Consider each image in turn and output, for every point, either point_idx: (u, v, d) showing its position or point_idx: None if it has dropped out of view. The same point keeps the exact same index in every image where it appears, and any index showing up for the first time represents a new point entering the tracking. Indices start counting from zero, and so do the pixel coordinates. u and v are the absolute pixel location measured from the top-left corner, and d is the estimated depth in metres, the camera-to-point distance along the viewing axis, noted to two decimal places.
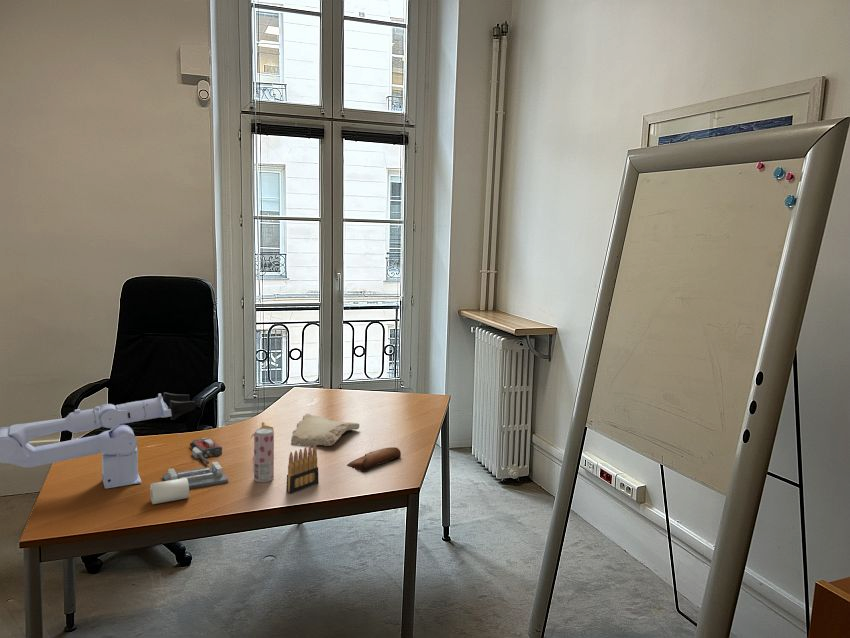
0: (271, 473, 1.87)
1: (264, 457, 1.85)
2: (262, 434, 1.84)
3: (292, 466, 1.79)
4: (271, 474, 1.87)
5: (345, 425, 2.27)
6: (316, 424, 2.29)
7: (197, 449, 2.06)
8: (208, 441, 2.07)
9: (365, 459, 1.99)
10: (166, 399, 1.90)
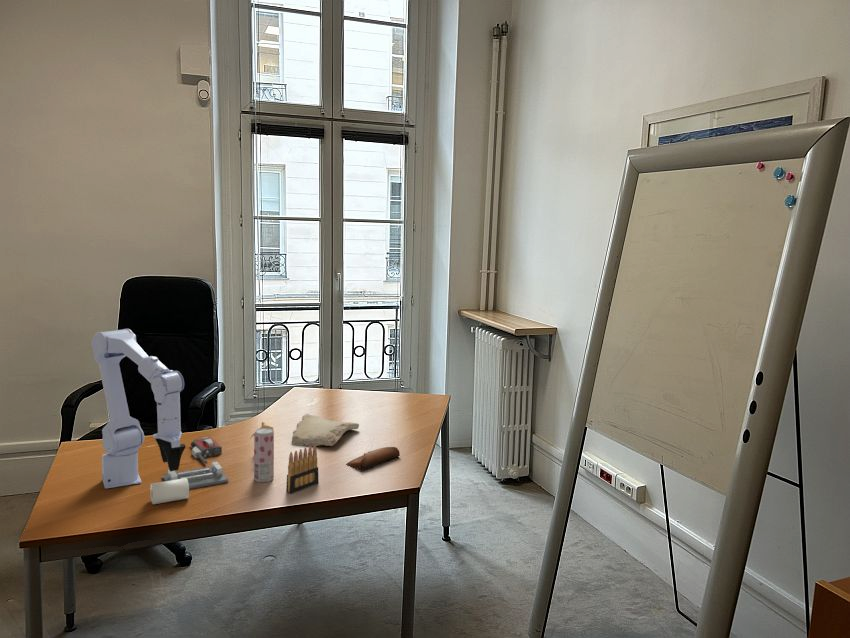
0: (271, 473, 1.87)
1: (264, 457, 1.85)
2: (262, 434, 1.84)
3: (292, 466, 1.79)
4: (271, 474, 1.87)
5: (345, 425, 2.27)
6: (316, 424, 2.29)
7: (197, 449, 2.06)
8: (208, 441, 2.08)
9: (364, 458, 1.99)
10: None
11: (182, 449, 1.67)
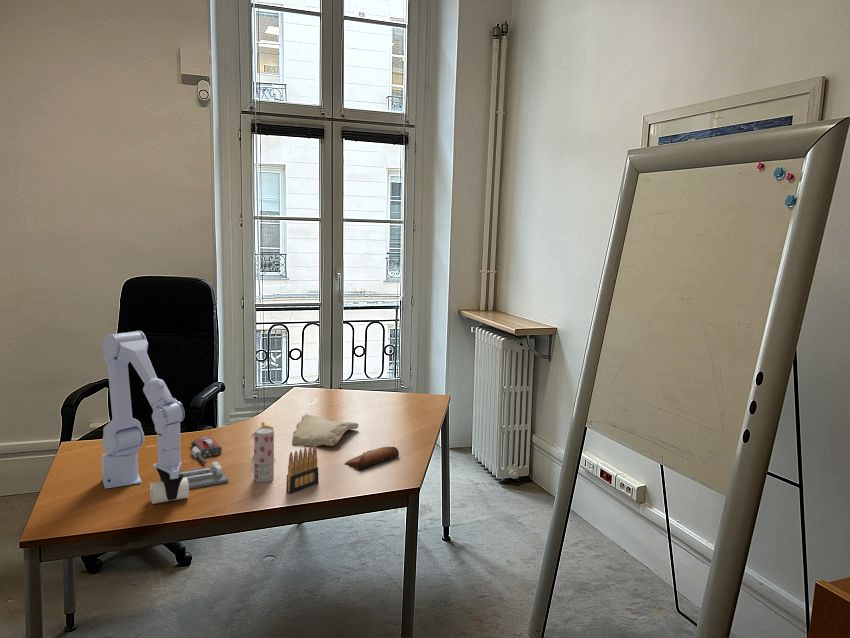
0: (271, 473, 1.87)
1: (264, 457, 1.85)
2: (262, 434, 1.84)
3: (292, 466, 1.79)
4: (271, 474, 1.87)
5: (345, 425, 2.28)
6: (316, 424, 2.29)
7: (197, 449, 2.06)
8: (208, 441, 2.08)
9: (362, 458, 2.00)
10: None
11: (180, 479, 1.68)
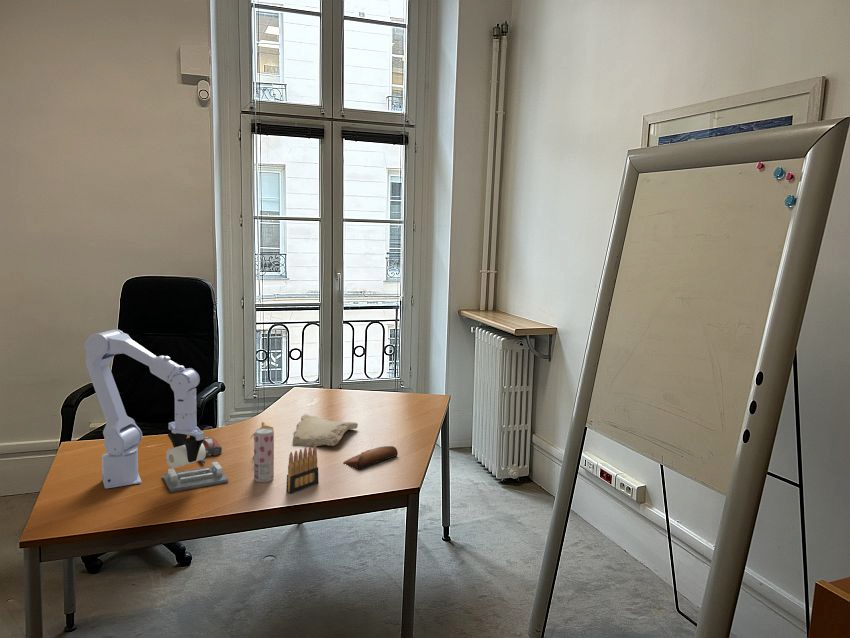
0: (271, 473, 1.87)
1: (264, 457, 1.85)
2: (262, 434, 1.84)
3: (292, 466, 1.79)
4: (271, 474, 1.87)
5: (345, 425, 2.28)
6: (316, 424, 2.29)
7: None
8: (208, 440, 2.08)
9: (361, 457, 2.00)
10: None
11: (202, 441, 1.77)
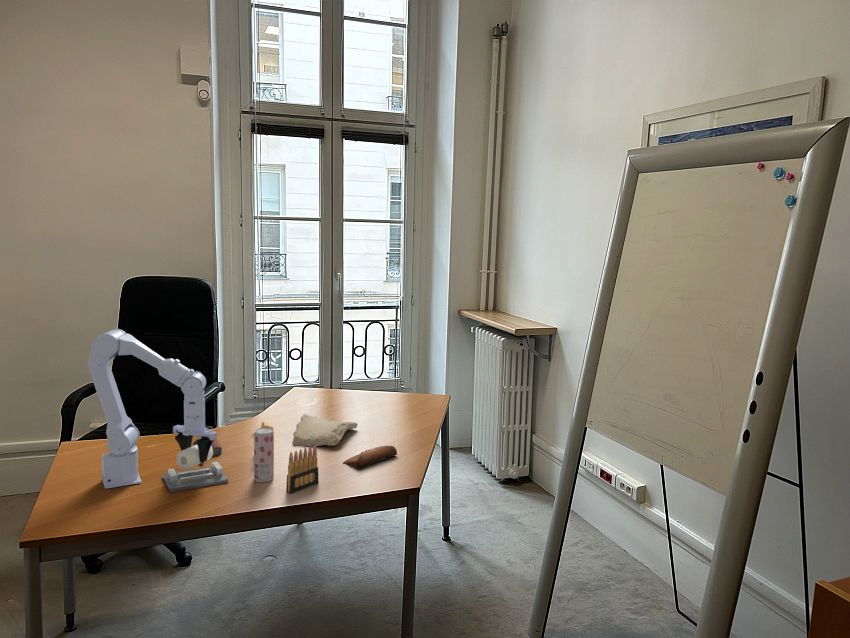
0: (271, 473, 1.87)
1: (264, 457, 1.85)
2: (262, 434, 1.84)
3: (292, 466, 1.79)
4: (271, 474, 1.87)
5: (345, 424, 2.28)
6: (316, 424, 2.29)
7: None
8: None
9: (360, 457, 2.00)
10: None
11: (213, 440, 1.84)
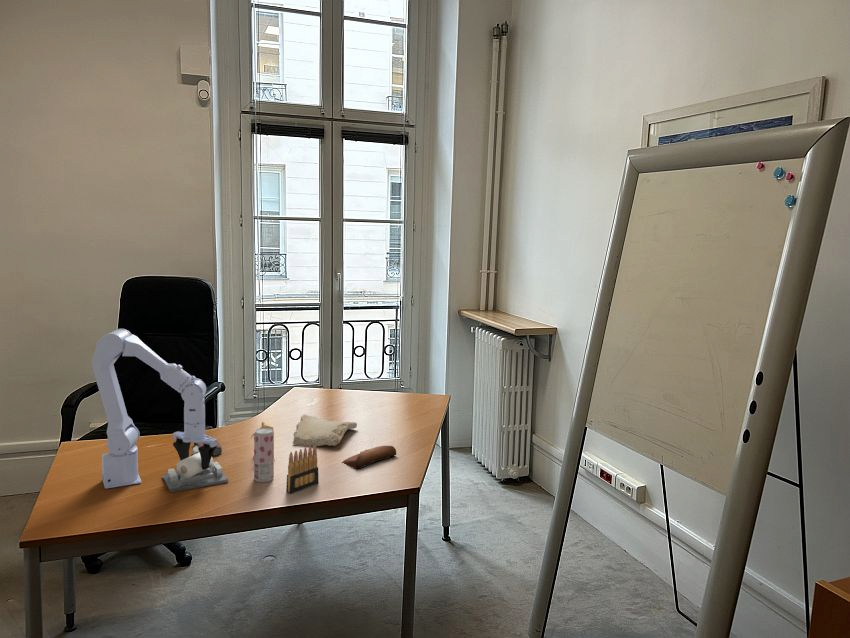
0: (271, 473, 1.87)
1: (264, 457, 1.85)
2: (262, 434, 1.84)
3: (292, 466, 1.79)
4: (271, 474, 1.87)
5: (345, 424, 2.28)
6: (316, 424, 2.29)
7: (197, 448, 2.07)
8: None
9: (359, 457, 2.01)
10: None
11: (215, 448, 1.84)
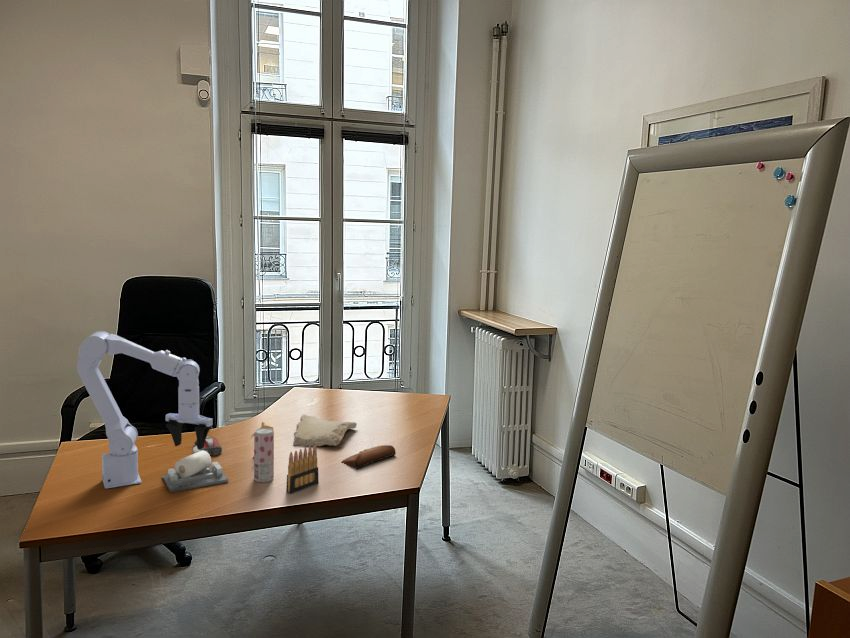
0: (271, 473, 1.87)
1: (264, 457, 1.85)
2: (262, 434, 1.84)
3: (292, 466, 1.79)
4: (271, 474, 1.87)
5: (345, 424, 2.28)
6: (315, 425, 2.29)
7: None
8: (208, 440, 2.08)
9: (358, 456, 2.01)
10: None
11: (210, 427, 1.86)
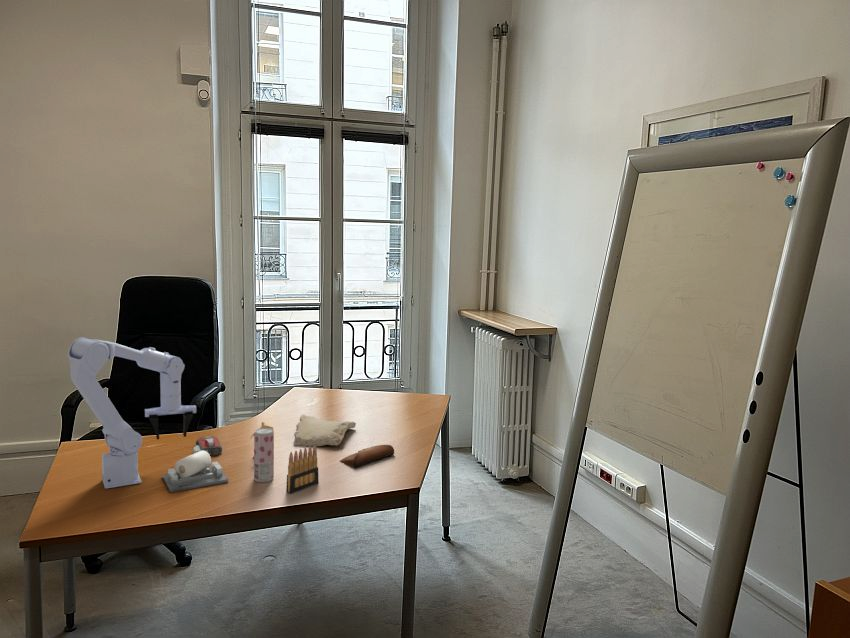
0: (271, 473, 1.87)
1: (264, 457, 1.85)
2: (262, 434, 1.84)
3: (292, 466, 1.79)
4: (271, 474, 1.87)
5: (345, 424, 2.28)
6: (315, 425, 2.29)
7: (198, 447, 2.07)
8: (209, 440, 2.08)
9: (357, 456, 2.01)
10: (184, 415, 1.94)
11: None
